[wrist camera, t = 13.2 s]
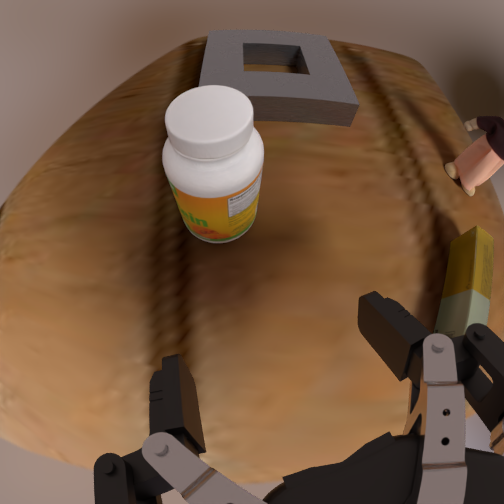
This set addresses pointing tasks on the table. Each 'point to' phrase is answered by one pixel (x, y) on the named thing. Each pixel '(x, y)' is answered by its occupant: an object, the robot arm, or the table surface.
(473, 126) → the grandmother figurine
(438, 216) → the table surface
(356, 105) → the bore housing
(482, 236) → the medication box
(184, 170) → the supplement bottle
